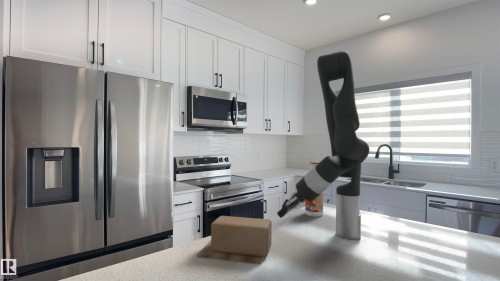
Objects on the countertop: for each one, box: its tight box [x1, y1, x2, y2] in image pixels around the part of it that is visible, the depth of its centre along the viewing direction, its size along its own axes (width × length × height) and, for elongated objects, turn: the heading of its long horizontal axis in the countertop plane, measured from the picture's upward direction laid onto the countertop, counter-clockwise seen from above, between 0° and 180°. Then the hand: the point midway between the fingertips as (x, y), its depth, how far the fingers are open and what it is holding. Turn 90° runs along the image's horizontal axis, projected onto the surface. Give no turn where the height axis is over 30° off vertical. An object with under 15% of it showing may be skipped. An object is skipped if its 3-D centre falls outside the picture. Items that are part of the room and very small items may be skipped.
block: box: [210, 215, 273, 258], centre depth 92 cm, size 10×10×20 cm
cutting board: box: [196, 239, 265, 265], centre depth 93 cm, size 22×16×1 cm
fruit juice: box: [304, 160, 324, 218], centre depth 138 cm, size 9×9×28 cm
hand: (279, 215), depth 90 cm, fingers closed
